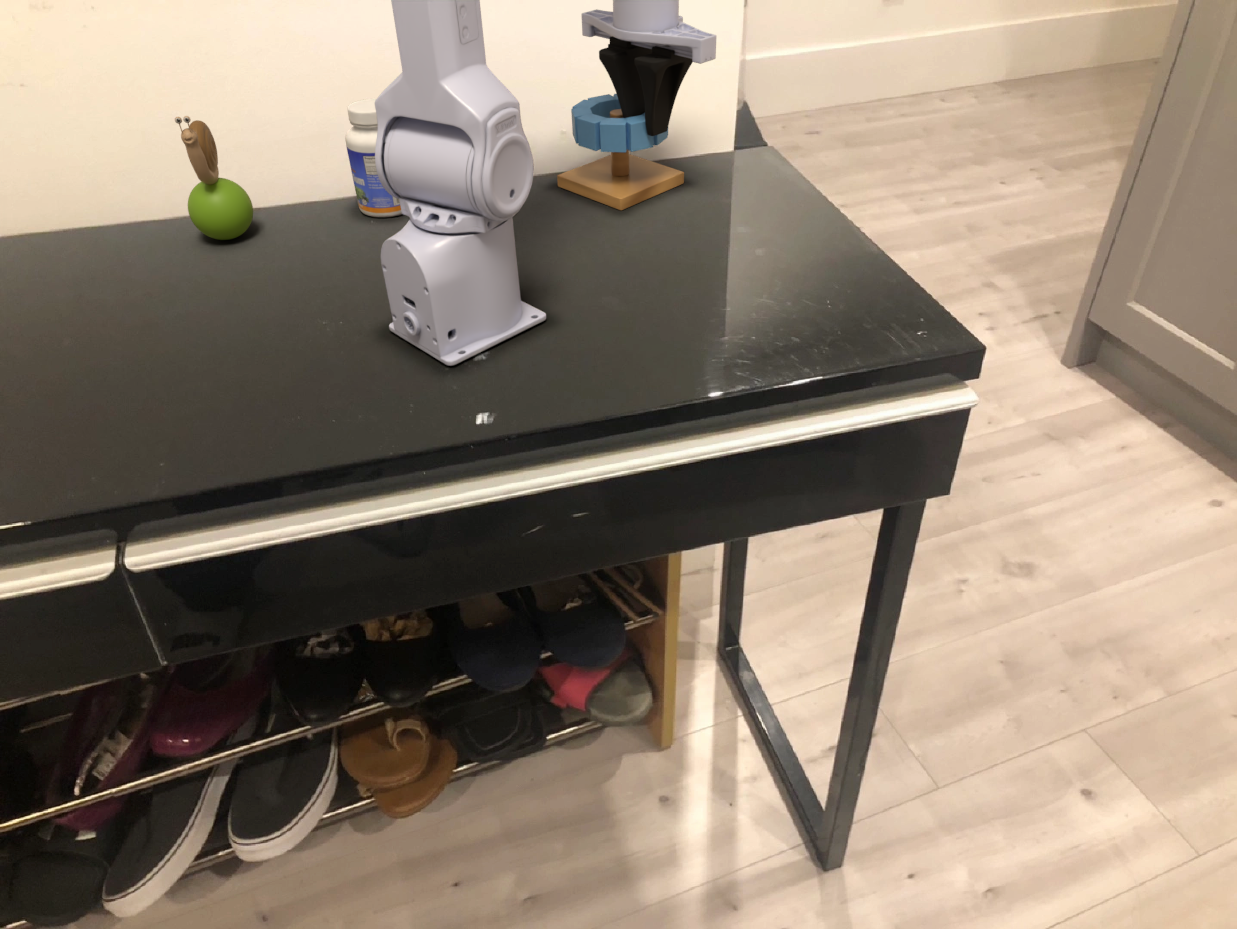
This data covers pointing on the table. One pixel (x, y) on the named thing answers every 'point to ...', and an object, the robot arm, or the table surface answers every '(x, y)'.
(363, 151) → the pill bottle
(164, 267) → the table surface
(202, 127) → the snail figurine
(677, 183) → the peg
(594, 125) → the segmented ring
